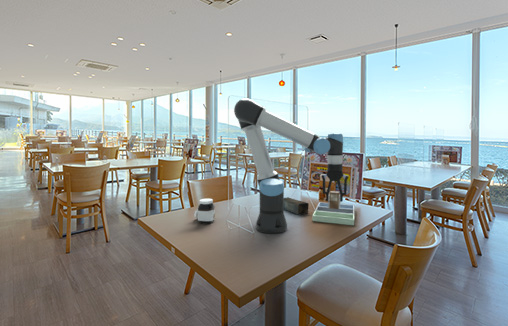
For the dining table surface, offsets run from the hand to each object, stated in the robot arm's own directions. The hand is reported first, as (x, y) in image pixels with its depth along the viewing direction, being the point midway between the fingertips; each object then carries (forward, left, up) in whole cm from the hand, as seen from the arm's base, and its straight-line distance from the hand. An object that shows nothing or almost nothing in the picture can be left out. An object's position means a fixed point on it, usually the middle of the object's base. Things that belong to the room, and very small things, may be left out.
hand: (334, 207), depth 142 cm
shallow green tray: (0, +10, -7) cm, 12 cm away
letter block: (0, 0, 0) cm, 0 cm away
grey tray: (0, +20, -7) cm, 21 cm away
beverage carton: (-25, +12, -8) cm, 29 cm away
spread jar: (-65, -24, -7) cm, 69 cm away
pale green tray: (0, 0, -7) cm, 7 cm away
